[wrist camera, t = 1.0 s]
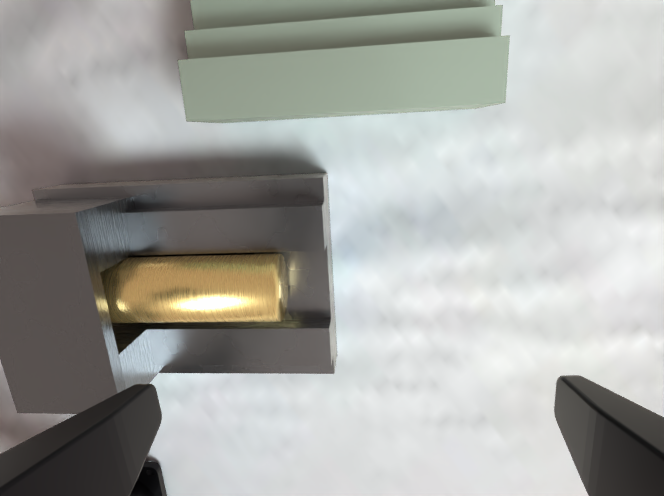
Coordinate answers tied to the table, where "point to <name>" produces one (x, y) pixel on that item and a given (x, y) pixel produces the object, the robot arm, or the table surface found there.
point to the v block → (341, 58)
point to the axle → (197, 289)
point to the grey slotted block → (156, 241)
